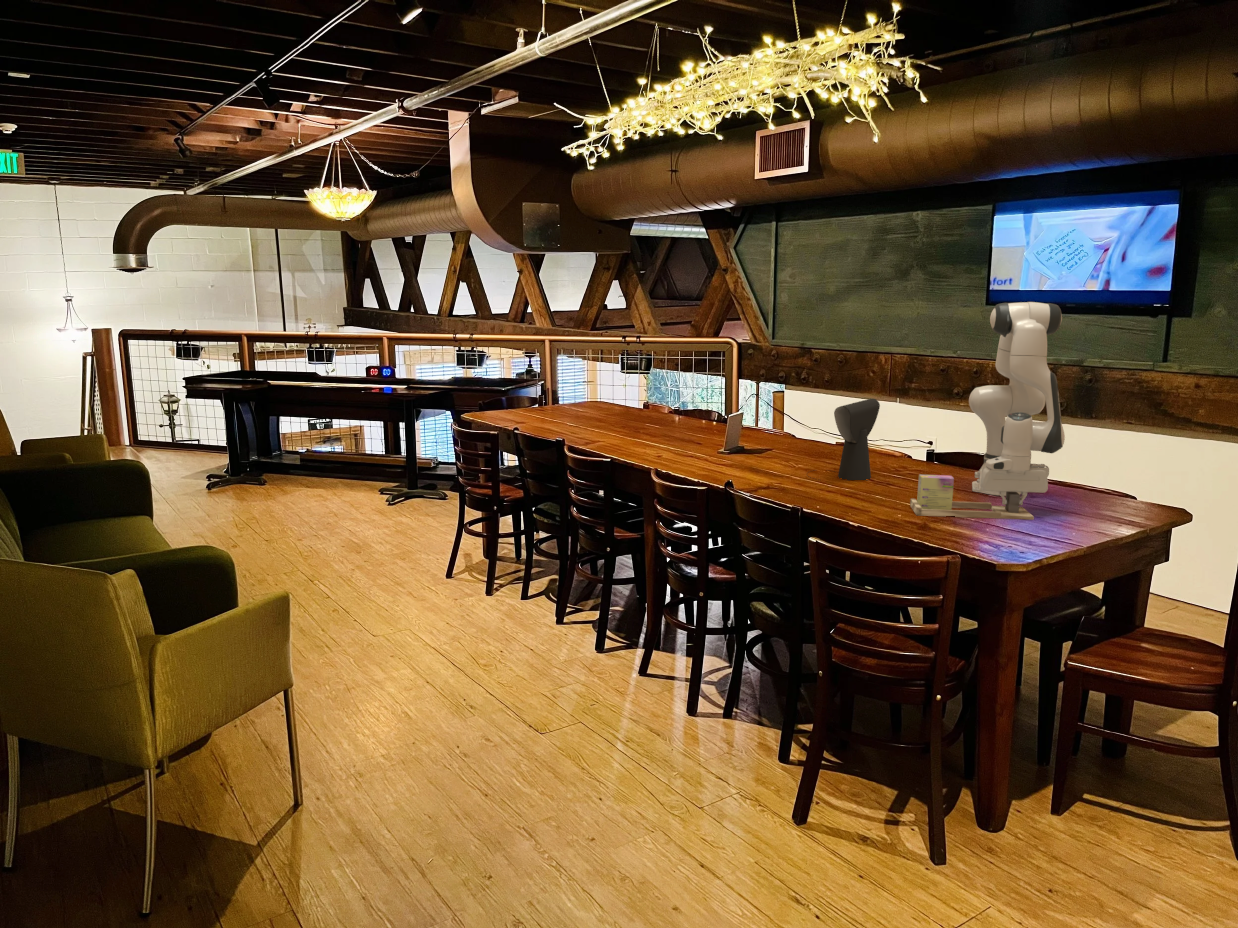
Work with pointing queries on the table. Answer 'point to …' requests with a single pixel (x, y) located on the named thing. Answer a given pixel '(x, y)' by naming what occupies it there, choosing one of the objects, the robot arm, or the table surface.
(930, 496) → the box
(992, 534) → the table surface
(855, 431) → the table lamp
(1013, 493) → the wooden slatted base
